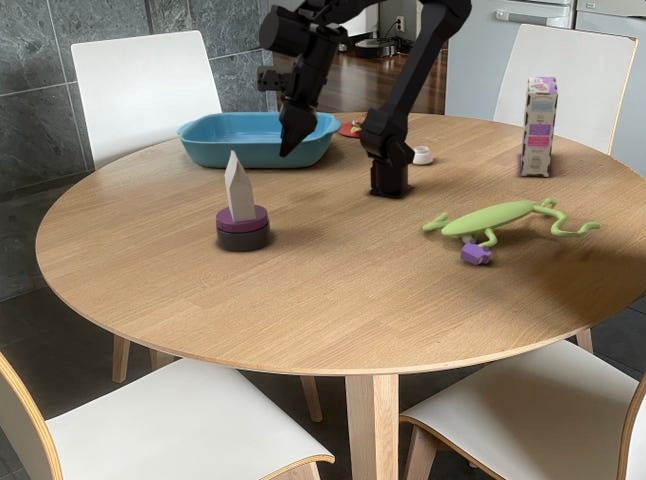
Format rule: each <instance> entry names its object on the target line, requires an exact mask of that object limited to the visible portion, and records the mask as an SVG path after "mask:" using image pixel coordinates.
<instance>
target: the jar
mask: <svg viewBox="0 0 646 480" xmlns="http://www.w3.org/2000/svg"><path fill="white" fill-rule="evenodd" d="M215 228H216V235H217V241H218V242H217V243H218V246H219V247H220V248H222V249H223V250H225V251H230V252H238V253H242V252H250V251H255V250H259V249H261V248H263V247H266V246H267V245H268V244H270V243H271V241H272V230H271V222H270V219H269V218H268V222H267V224H266V225H264V226H263V227H261V228H259V229H256V230H253V231H248V232H239V233H236V232H227V231H223V230H221V229H219V228H218V226H217V224H216V223H215Z"/></svg>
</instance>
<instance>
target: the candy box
mask: <svg viewBox="0 0 646 480" xmlns="http://www.w3.org/2000/svg"><path fill="white" fill-rule="evenodd" d="M558 98H559V89H558V84H557V79H556V76H527V81H526V92H525V101H524V102H525V103H524V113H523V114H524V115H523V125H522V138H521V139H522V141H521V154H520V157H521V158H520V176H524V177H541V178H542V177H545V178H548V177H549V176H550V168H551V160H552V159H551V158H552V149H553V139H554V133H555V132H554V131H555V125H556V124H555V123H556V116H557V108H558V100H559V99H558Z"/></svg>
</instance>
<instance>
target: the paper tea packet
mask: <svg viewBox="0 0 646 480" xmlns="http://www.w3.org/2000/svg"><path fill="white" fill-rule="evenodd" d="M223 176H224V183H225V189H226V196H227V204H228V207H229V209H230V212H231V215H232V218H233V221H234V222H241V221H248V220H256V215H255V207H254V205H255V199H254V193H253V192H254V191H253V185H252V183H251V179H250V178H249V175H248V174H247V171H246V170H245V168H243V167H242V165H241V164H240V162H239V161H238V159H237V157H236V154H235V152H234V150H233V151H232V150H231V156H230V160H229V163H228V166H227V168H225V172H224V175H223Z"/></svg>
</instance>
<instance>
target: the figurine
mask: <svg viewBox="0 0 646 480" xmlns="http://www.w3.org/2000/svg"><path fill="white" fill-rule="evenodd" d="M548 204H549V205H551V206H549V207H546V206H547V205H548ZM557 204H558V199H557V198H555V197H552V196H549V197H546V199H544V200H543V202H542V203H541V204H540V205H537V203H536V202H535V201H533V200H526V199H522V200H516V201H508V202H503V203H499V204H495V205H491V206H488V207H485V208H482V209H481V208H480V209H478V210H476V211H475V210H474V211H473V212H471V213H467V214H466V215H462V216H460V217H458V218H456V219H455V220H447V219H448V218H449V214H448V212H447V211H444V212H443V213H442V214H440V215H439V216H437V217H436V218H435V219H432V220H431V221H430V222H427V223H426V224H424V225H423V226H422V230H423V232H424V233H428V232H431V231H433V230H434V231H435V230H437V229H441V228H442V229H441V235H443V236H444V237H454V238H456V237H457V238H458V239H461V240H462V242H463V244H464V245H463V247H462V248H461V251H460V257H459V258H460V259H461V260H463V261H466V262H468V263H470V264H472V265H474V266H479V265H480V264H488V263H489V261H490V259H491V255H492V252H491V251H490V247H494V246H495V245H496V244H497V243H498V239H497V237H496V235H495V233H494V232H493V230H494V231H497V232H501V233H504V231H503V230H501V229H497V228H500V227H503V226H506V225H508V224H511V223H513V222H516V221H518V220H520V219H523V218H524V217H526V216H528V215H529V214H531V213H535V214H540V215H545V216H550V217H553V218H556V219H558V220H557V221H555V222H554V223H553V224H552V226H551V228H550V232H551V234H552V235H553V236H555V237H558V238H559V237H560V238H574V239H575V238H576V239H578V238H581V237H583V236H585V235H587V234H588V232H589V231H590V230H600V228H601V224H600V222H599V221H588V222H586V223H584V224H583V225H581V227H580V229H579V230H578V231H576V232H574V231H564V230H560V228H561V227H562V226H563V225H564V224H565V223H566V222H567V221H568V216H567V215H566V214H565V213H563V211H560V210H558V209H554V208H555V207H556V205H557ZM483 232H484V233H485V235H486V236H487V238H488V239H489V240H488V241H485V242H481V243H478V244H476V243H477V240H478V237H479V235H480V233H483Z"/></svg>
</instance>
